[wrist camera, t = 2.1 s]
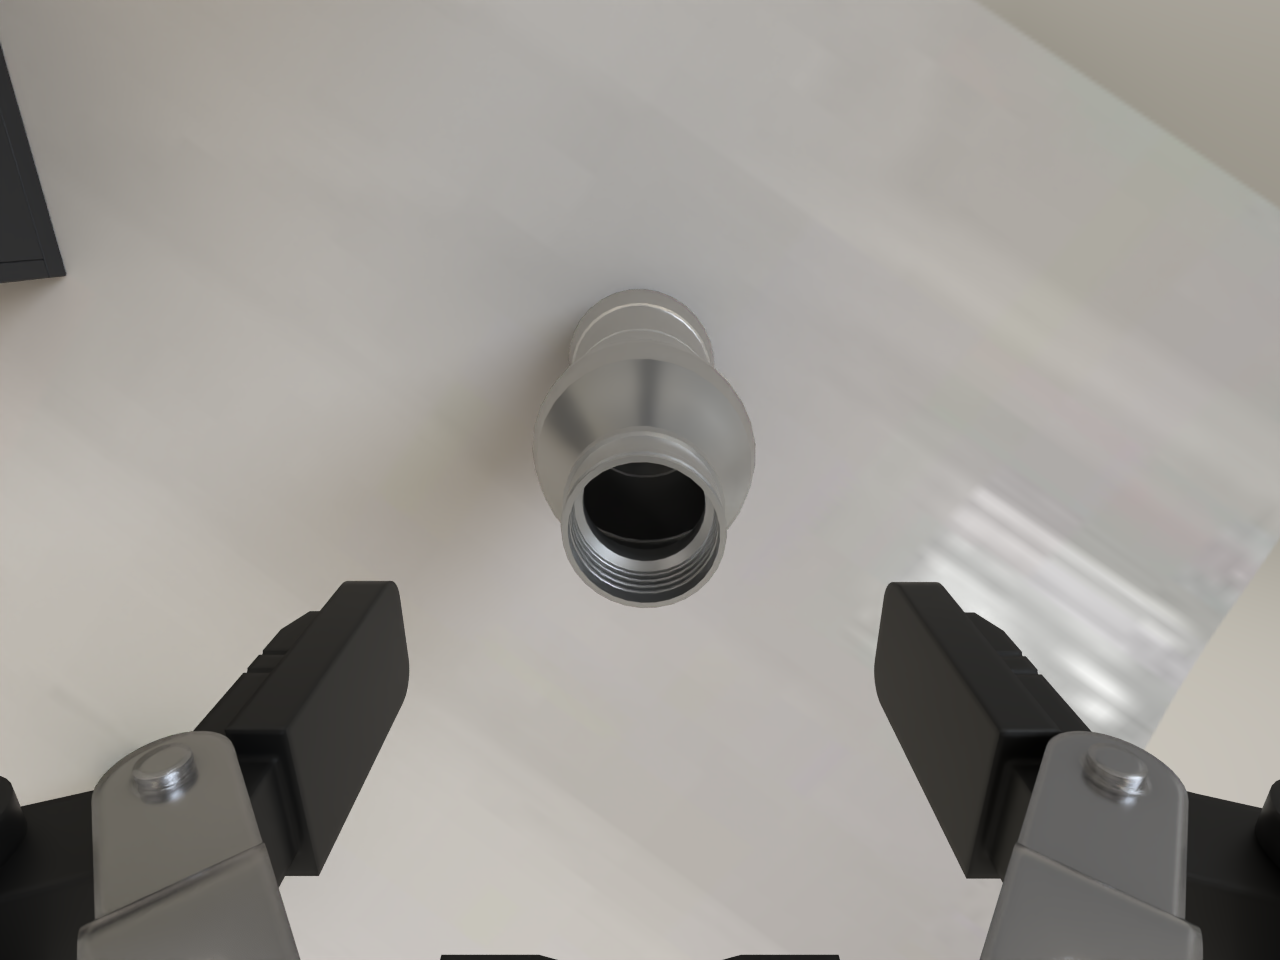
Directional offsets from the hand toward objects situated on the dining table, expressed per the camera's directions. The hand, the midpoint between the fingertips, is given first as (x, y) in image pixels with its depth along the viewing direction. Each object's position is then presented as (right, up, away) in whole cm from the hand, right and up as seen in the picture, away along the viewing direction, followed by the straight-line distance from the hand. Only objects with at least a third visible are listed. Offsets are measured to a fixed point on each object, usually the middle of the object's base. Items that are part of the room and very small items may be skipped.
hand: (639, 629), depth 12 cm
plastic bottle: (0, +9, +22) cm, 24 cm away
